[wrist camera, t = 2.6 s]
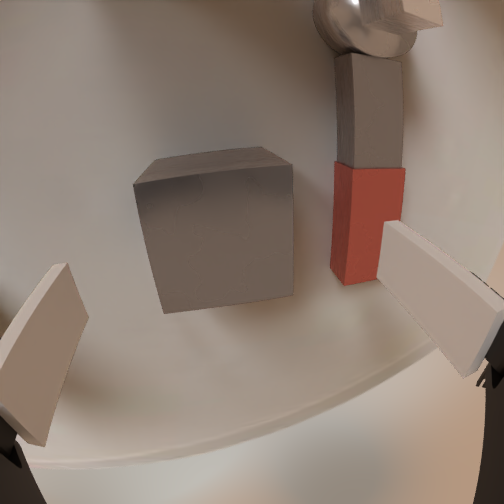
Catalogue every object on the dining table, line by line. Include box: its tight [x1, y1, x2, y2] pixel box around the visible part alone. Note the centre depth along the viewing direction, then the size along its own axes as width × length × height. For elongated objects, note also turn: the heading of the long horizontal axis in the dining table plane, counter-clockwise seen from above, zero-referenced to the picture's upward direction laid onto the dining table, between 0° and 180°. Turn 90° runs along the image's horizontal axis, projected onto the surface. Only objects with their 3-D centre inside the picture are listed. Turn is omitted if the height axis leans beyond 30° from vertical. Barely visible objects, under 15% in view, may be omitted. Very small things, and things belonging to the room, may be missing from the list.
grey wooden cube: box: [133, 147, 294, 314], centre depth 15 cm, size 6×6×6 cm
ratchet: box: [313, 0, 443, 286], centre depth 14 cm, size 21×6×7 cm, turn 4°
